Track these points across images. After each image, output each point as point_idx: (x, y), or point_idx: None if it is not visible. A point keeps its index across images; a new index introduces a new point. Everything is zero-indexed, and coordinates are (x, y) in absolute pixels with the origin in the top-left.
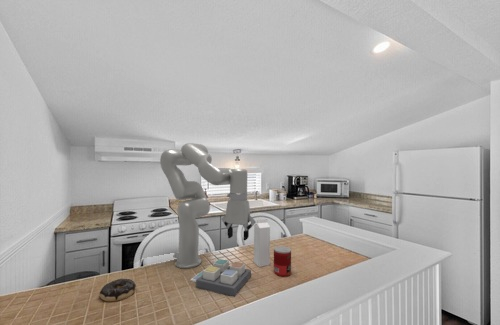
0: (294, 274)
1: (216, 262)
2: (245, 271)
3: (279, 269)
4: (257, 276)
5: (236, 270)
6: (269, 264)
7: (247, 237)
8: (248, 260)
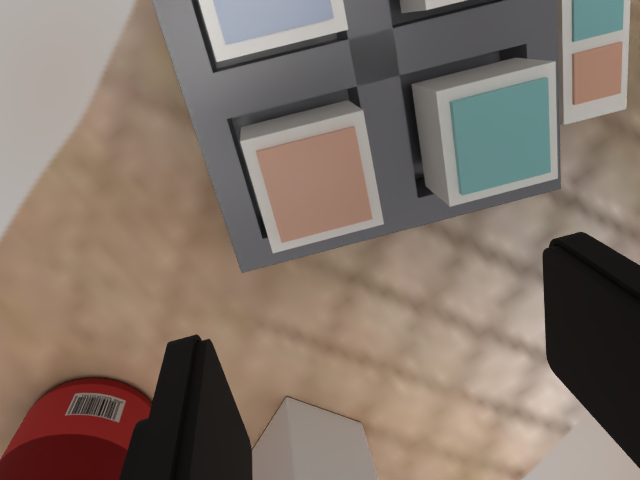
0: None
1: (533, 86)
2: None
3: (59, 411)
4: (205, 282)
5: (284, 125)
6: None
7: (142, 432)
8: (413, 424)
